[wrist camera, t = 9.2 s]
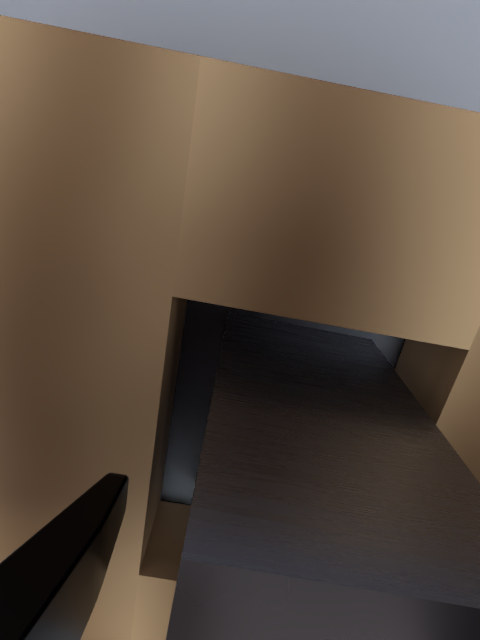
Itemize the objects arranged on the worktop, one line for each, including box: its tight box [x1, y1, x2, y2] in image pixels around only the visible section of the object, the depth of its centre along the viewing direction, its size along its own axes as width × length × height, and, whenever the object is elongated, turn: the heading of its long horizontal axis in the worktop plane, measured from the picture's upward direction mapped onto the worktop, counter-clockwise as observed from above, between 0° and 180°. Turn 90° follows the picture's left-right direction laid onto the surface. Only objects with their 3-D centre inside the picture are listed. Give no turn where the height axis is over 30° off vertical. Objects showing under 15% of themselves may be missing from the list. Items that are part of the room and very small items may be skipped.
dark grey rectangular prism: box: [166, 312, 480, 640], centre depth 8 cm, size 4×6×7 cm, turn 169°
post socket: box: [0, 15, 480, 640], centre depth 10 cm, size 14×16×2 cm
